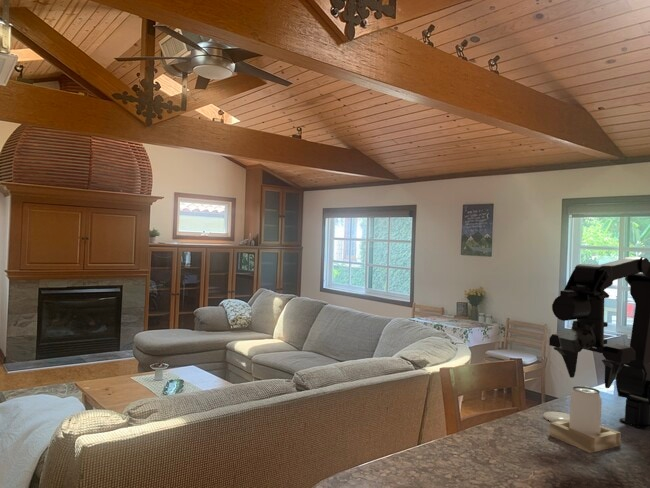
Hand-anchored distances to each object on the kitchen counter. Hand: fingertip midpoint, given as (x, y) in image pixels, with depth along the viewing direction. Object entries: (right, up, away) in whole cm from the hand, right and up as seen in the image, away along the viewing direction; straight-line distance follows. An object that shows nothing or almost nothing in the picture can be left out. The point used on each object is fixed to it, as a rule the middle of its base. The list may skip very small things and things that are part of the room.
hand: (589, 382), depth 118 cm
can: (-2, -13, -2) cm, 14 cm away
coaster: (-1, -13, +12) cm, 18 cm away
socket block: (-2, -13, -2) cm, 13 cm away
